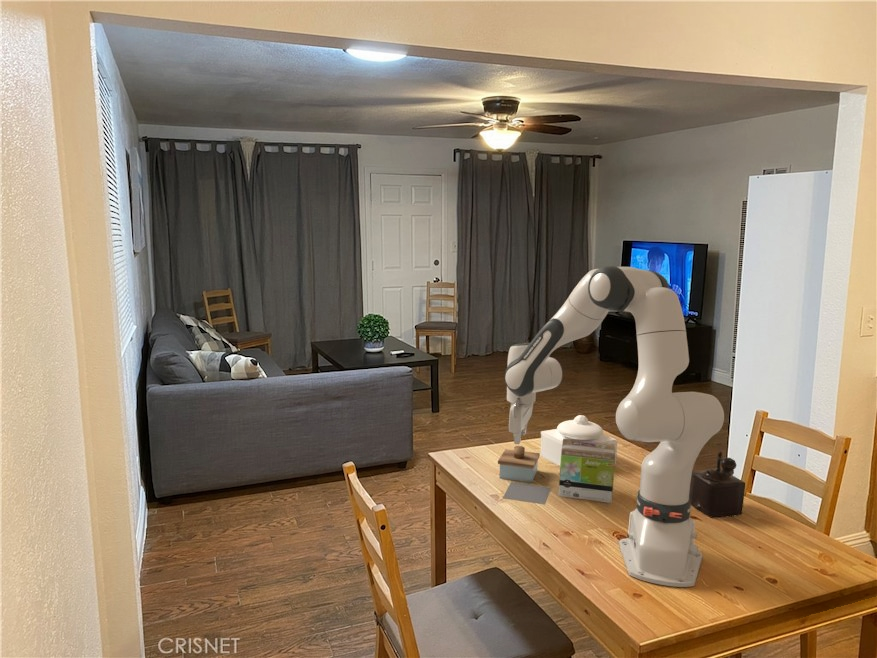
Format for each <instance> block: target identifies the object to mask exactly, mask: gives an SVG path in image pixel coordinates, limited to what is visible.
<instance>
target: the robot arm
mask: <svg viewBox="0 0 877 658" xmlns="http://www.w3.org/2000/svg"><path fill="white" fill-rule="evenodd" d="M610 311H615V312H621V313H622V312H625V313H631V315H632V316H633V318H634V321H635V330H636V342H637V357H638V358H637V359H638V368H637V369H638V370H637V374H636V378H635V382H634V384H633V385H632V386H633V387H632V388H631V390H630V392H628V394H627V395H626V396H625V397H624V398H623V399H622V400H621V401H620V403H619V404H618V406H617V408H616V412H615V423H616V425H617V428H618V430H619V432H620V433H621V435H622V436H623V437H624V438H625V439H627V440H629V441H635V442H643V443H655V442H657V443H658V442H659V444H658V445H657V447H655V449H654V450H652V451H650V452H649V453H648V454H646V456H645V457H644V458H643V460H642V463H641V467H640V480H639V481H640V482H639V490H638V491H637V496H636V508H635V509H634V510H632V511H631V512H629V517H628V518H629V520H628V528H627V529H628V532H627V535H626V536H627V537H626V538H621V539H619V543H618V547H619V548H620V552H621V555H622V558H623V562H624V564H625V568H626V570H627V572H628V575H629V576H631V577H633V578H635V579H638V580H641V581H644V582H647V583H651V584H656V585H661V586H668V587H674V588H675V587H678V588H689V587H690V588H691V587H694V586H695V585H696V582H697V579H698V575H699V572H700V569H701V565H702V561H703V553H702V552H701V551H700V550H699V546H698V544H695V540H697V537H698V532H696V521H695V520H694V519H693V518H692V517H691V510H692V505H691V499H690V498H689V492H690V483H691V476H692V471H694V467H695V464H696V460H697V458H698V456H699V455H700V453H701V451H702V450H703V448H704V446H705V445H706V444H707V442H709V440H711V438H712V437H713V436H715V435H716V434H718V433H719V432H720V430H722V427H723V425H724V421H725V411H724V408H723V405H722V404H721V402H720V401H719V399H718V398H717V397H715V396H714V395H712V394H709V393H704V392H699V391H677V392H673V385H674V381H675V380H676V378H677V376H679V375H681V374H682V373H683V372H684V371H686V369H687V368H688V366H689V363H690V356H689V355H690V354H689V346H688V345H689V344H688V338H687V329H686V323H685V317H684V313H683V308H682V304H681V302H680V299H679V296H678V294H677V293H676V292H675V291H674V290H672V289H671V288H670V285H669V282H668V280H667V278H665V276H663V274H660V273H658V272H656V271H653V270H651V269H649V270H646V269H641V268H636V267H634V266H616V265H615V266H614V265H607V266H604V267H600V268H594V269H592V270H589V271H588V272H587V273H586V274H585V275H584V276H583V277H582V278H581V279H580V280H579V282H578V283H577V285H576V286H575V287H574V288H573V290H572V291H571V293H570V294H569V296H568V297H567V299H566V300H565V301H564V303H563V304H562V305H561V307H560V308H559V309H558V311H557V312H556V313H554V315H553V316H552V317H551V318H550V319H549V320H548V321H547V322H546V323H545V324H544V325H543V326H542V328H540V329H539V331H538V332H537V333H536V335H535V336H534V338H532V340H531V341H530V342H523V343H516V344H512V345H510V348H509V350H508V354H507V366H506V369H505V373H504V382H505V386H506V401H507V402H508V403H510V408H509V417H508V431H509V433H512V434H513V435H512V436H513V443H514V445H520V444H521V442H522V439H521V438H522V437H521V436H525V435H527V427H528V423H529V421H530V419H531V417H532V414H533V408H534V403H535V402H536V399H537V398H536V397H537V393H539V392H544V391H548V390H552V389H554V388H557V387H559V386H560V385H561V382H562V380H563V377H564V376H563V375H564V373H563V367H562V365H561V363H560V362H559V361H558V360H557V359H556V358H555V357H551V354H552V353H553V352H554V351H555V350H557V349H558V348H560V347H561V346H564V345H566V344H568V343H571V342H573V341H574V342H575V341H576V340H577V341H578V340H579V339H582V338H585V337H588V336H589V335H591V334H592V333H593V332H594V331H595V330H596V329H598V328H599V327H600V325H601V324H602V323H603V321H604V320H605V318H606V317H607V315H608V313H609V312H610Z"/></svg>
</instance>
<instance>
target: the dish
mask: <svg viewBox="0 0 877 658" xmlns="http://www.w3.org/2000/svg"><path fill="white" fill-rule="evenodd" d="M538 461H539V460H538ZM538 461H537V463H536V465H535V467H534V469H532V468H524V467H516V466H509V465H501V464H499V479H504V480H511V481H516V482H517V481H518V482H526V483H533V480H534V478H535V476H536V474H537V472H538V463H539V462H538Z"/></svg>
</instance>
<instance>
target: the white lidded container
mask: <svg viewBox="0 0 877 658" xmlns="http://www.w3.org/2000/svg"><path fill="white" fill-rule="evenodd" d="M563 439H571V440H581V441H590V442H600V443H609V444H614V449H615V465H617V451H618V442H617V439H616V438H613V437H611V436H609V435H606V434H604V429H603V428H602V427H601V426H600V425H599V424H598V423H595V422H592V421H589V419H588V418H587V416H585V415H584V414H583V415H582V414H578V415H577V416H575V417H574V418H573V419H569V420H564V421H562V422H560V423H559V424H558V425H557V427H556V428H553V429H547V430H541V431H540V456H541V457H540V456H539V457H540V458H542V457H543V458H542V459H544V458H545V459H544V460H546V459H547V460H546V461H548V460H549V461H548V462H550V461H551V462H550V463H552V462H553V463H554V465H555V464H556V465H555V466H557V465H559V466H560V464H561V451H562V444H563ZM553 463H552V464H553ZM559 466H558V467H559Z"/></svg>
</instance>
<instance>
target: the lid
mask: <svg viewBox="0 0 877 658" xmlns="http://www.w3.org/2000/svg"><path fill="white" fill-rule="evenodd" d="M525 450H526V449H525V446H522V445H518V446H517V445H516V446H514V449H507V448H505V450H504V451H503V453H502V454H501V456H500V457H499V459H498V460H497V465H500V464H501V465H509V466H516V467H524V468H532V469H534V467H535V465H536V463H537V461H539V459H540V453H538V452H531V451H525Z"/></svg>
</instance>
